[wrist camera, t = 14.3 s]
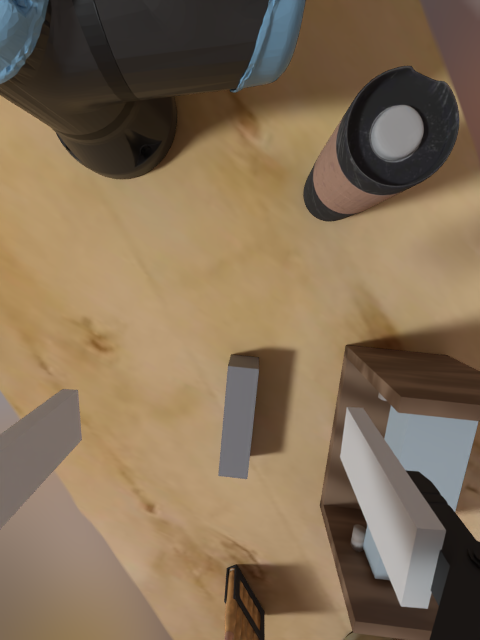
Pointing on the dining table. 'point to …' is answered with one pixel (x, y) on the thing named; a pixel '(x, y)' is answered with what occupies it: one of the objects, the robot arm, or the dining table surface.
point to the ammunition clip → (241, 609)
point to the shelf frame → (376, 399)
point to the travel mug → (383, 144)
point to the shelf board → (427, 460)
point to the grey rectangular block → (238, 416)
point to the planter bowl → (365, 637)
